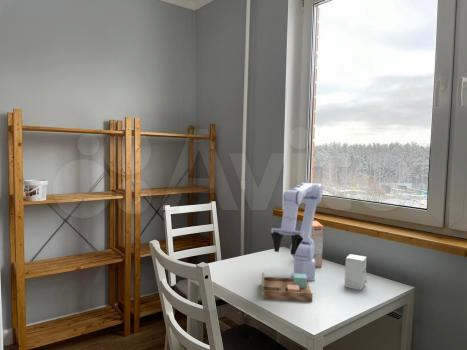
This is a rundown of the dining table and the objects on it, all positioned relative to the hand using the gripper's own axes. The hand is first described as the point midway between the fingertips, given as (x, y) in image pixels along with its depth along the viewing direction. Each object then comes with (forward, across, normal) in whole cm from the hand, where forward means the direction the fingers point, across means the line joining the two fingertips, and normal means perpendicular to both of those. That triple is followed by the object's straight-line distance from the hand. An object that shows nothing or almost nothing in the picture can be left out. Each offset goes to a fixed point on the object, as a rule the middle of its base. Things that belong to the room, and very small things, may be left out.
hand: (284, 253), depth 139 cm
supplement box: (+8, +16, +33) cm, 38 cm away
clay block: (+16, +3, +6) cm, 17 cm away
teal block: (+12, +2, +13) cm, 17 cm away
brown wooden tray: (+15, -2, +8) cm, 17 cm away
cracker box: (+1, -12, +48) cm, 49 cm away
